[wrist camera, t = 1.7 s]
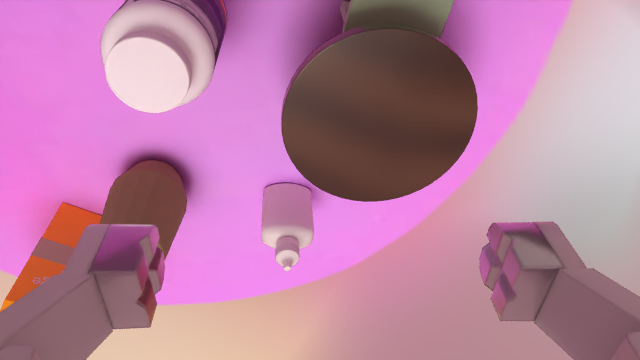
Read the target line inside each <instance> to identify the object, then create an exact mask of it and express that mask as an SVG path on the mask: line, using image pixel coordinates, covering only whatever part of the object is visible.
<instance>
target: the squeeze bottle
mask: <svg viewBox="0 0 640 360" xmlns="http://www.w3.org/2000/svg"><path fill="white" fill-rule="evenodd" d="M186 205H187V198H186V194H185V190H184V186H183V182H182V180H181V177H180V175H179V173H178V172H177V171H176V170H175V169H174V168H173V167H172V166H170V165H168V164H166V163H164V162H162V161H156V160H147V161H141V162H140V163H138V164H136V165H135V166H133V167H132V168H130V169H129V170H128V171H126V172H125V173H123V174H122V175H121V176H119V177H118V178H117V179H116V180H115V181H114V183H113V185H112V187H111V188H110V191H109V194H108V198H107V201H106V204H105V208H104V211H103V214H102V218H101V221H100V224H111V225H112V224H144V225H155V226H157V228H158V232H159V236H160V238H159V241H158V245H157V246H158V247H159V248H160V249H161V250H162V251H163V255H164V261H165V258H166V256H167V254H168V251H169V249H170V247H171V244H172V242H173V240H174V238H175V235H176V233H177V231H178V228H179V226H180V224H181V221H182V219H183V217H184V214H185V212H186Z"/></svg>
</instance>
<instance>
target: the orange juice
mask: <svg viewBox="0 0 640 360" xmlns="http://www.w3.org/2000/svg"><path fill="white" fill-rule="evenodd" d="M101 218H102V216H101V215H98V214H95V213H92V212H90V211H87V210H84V209H81V208H78V207H75V206H72V205H69V204H67V203H64V202H63V203H62V204H61V206H60V208H59V209H58V211H57V213H56V214H55V216H54V218H53V219H52V221H51V223H50V224H49V226H48V228H47V230H46V231H45V233H44V235H43V236H42V237H41V239H40V240H39V242H38V244H37V245H36V247H35V249H34V250H33V252H32V254H31V256H30V258H29V260H28V262H27V263H26V265H25V267H24V268H23V270H22V272H21V273H20V275H19V277H18V279H17V280H16V282H15V284H14V285H13V287H12V289H11V290H10V292H9V294H8V295H7V297H6V299H5V300H4V303H3V306H2V308H1V310H0V312H1V311H3V310H4V309H6V308H7V307H9V306H10V305H11V304H13V303H14V302H16V301H17V300H19V299H20V298H22V297H23V296H25V295H26V294H28V293H29V292H30V291H32V290H33V289H35V288H36V287H38V286H39V285H41V284H42V283H44V282H45V281H47V280H48V279H49V278H51V277H52V276H54V275H62V273H63V271H64V269H65V267H66V265H67V263H68V261H69V259H70V257H71V255H72V253H73V251H74V249H75V247H76V245H77V243H78V241H79V239H80V238H81V236H82V234H83V232H84V230H85V228H86V227H87V226H89V225H90V224H100V221H101Z"/></svg>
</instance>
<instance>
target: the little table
mask: <svg viewBox="0 0 640 360" xmlns="http://www.w3.org/2000/svg"><path fill="white" fill-rule="evenodd" d="M477 109H478V107H477V94H476V89H475V85H474V82H473V79H472V76H471V74H470V72H469V71H468V69H467V67H466V65H465V64H464V62H463V61H462V60H461V58H460V57H459V56H458V55H457V53H456V52H455V51H454V50H453V49H452V48H451V47H450V46H449V45H448V44H447V43H445V42H444V41H443V40H441V39H440V38H438V37H437V36H435V35H433V34H431V33H429V32H427V31H425V30H423V29H419V28H416V27H413V26H409V25H402V24H393V23H380V24H372V25H366V26H362V27H357V28H354V29H351V30H348V31H346V32H343V33H341V34H339V35H337V36H335V37H333V38H331V39H329V40H328V41H326V42H325V43H324V44H322V45H321V46H319V47H318V48H317V49H316V50H314V51H313V52H312V53H311V54H310V55H309V56H308V57H307V58H306V59H305V60H304V62H303V63H302V64H301V65H300V66H299V68H298V69H297V71H296V72H295V74H294V75H293V77H292V79H291V81H290V83H289V85H288V88H287V90H286V93H285V97H284V100H283V106H282V118H281V120H282V136H283V141H284V144H285V148H286V151H287V153H288V155H289V157H290V159H291V161H292V162H293V164H294V165H295V167H296V168H297V170H298V171H299V172H300V173H301V174H302V175H303V176H304V177H305V178H306V179H307V180H308V181H310V182H311V183H312V184H313V185H315V186H316V187H318V188H320V189H321V190H323V191H325V192H327V193H329V194H332V195H334V196H337V197H341V198H344V199H349V200H354V201H364V202H366V201H384V200H390V199H395V198H399V197H403V196H406V195H409V194H411V193H414V192H416V191H418V190H420V189H422V188H424V187H426V186H428V185H429V184H431V183H433V182H434V181H435V180H437V179H438V178H440V177H441V176H442V175H443V174H444V173H445V172H447V171H448V170H449V169H450V168H451V167H452V166H453V164H454V163H455V162H456V161H457V160H458V159H459V157H460V156H461V154H462V153H463V152H464V150H465V148H466V146H467V145H468V143H469V141H470V138H471V136H472V133H473V131H474V127H475V123H476V118H477Z"/></svg>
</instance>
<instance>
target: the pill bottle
mask: <svg viewBox="0 0 640 360" xmlns="http://www.w3.org/2000/svg"><path fill="white" fill-rule="evenodd" d="M226 23H227V16H226V10H225V6H224V3H223V1H222V0H127V1H126V2H125V3H124V4H123V5H122V6H121V7H120V8H119V9H118V10H117V11H116V12H115V13H114V14H113V16H112V17H111V18H110V19H109V21H108V22H107V24H106V26H105V28H104V30H103V33H102V37H101V55H102V60H103V63H104V66H105V74H106V78H107V81H108V84H109V86H110V88H111V89H112V91H113V92H114V94H115V95H116V96H117V97H118V98H119V99H120V100H121V101H122V102H124V103H125V104H127V105H128V106H130V107H132V108H134V109H136V110H139V111H143V112H148V113H161V112H165V111H169V110H171V109H173V108H175V107H177V106H181V105H184V104H187V103H189V102H191V101H193V100H194V99H196V98H197V97H198V96H199V95H201V94H202V92H203V91H204V90H205V89H206V88H207V86H208V84H209V82H210V81H211V78H212V75H213V72H214V69H215V65H216V61H217V58H218V55H219V52H220V48H221V45H222V41H223V38H224V34H225V30H226Z"/></svg>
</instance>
